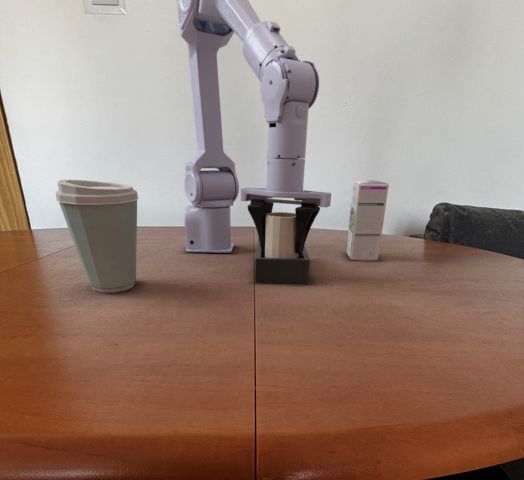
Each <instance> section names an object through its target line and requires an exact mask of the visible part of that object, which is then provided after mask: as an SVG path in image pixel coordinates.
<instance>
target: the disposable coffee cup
mask: <svg viewBox="0 0 524 480" xmlns="http://www.w3.org/2000/svg"><path fill="white" fill-rule="evenodd" d="M57 187H58V190H56V192H55V196H56V199H55V200H56V202H58V203H59V206H60V210H61V211H62V214H63V217H64V219H65V222H66V225H67V228H68V231H69V233H70V236H71V238H72V239H71V240H72V242H73V244H74V247H75V250H76V252H77V255H78V257H79V260H80V263H81V266H82V269H83V271H84V275H85V277H86V279H87V282H88V284H89V285H90V287H91V288H92V290H94V292H98V293H102V294H106V293H107V294H111V293H114V294H115V293H120V292H121V293H122V292H125V291H128V290H130V289H133V288H134V286H135V284H136V283H135V282H136V280H137V250H138V249H137V245H138V244H137V241H138V239H137V237H138V199H139V197H138V191H137V190H136V189H134V188H133V186H132V185H129V184H124V183H117V182H108V181H100V180H99V181H98V180H85V179H84V180H83V179H61V180H58V181H57Z"/></svg>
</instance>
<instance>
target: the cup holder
mask: <svg viewBox="0 0 524 480" xmlns="http://www.w3.org/2000/svg"><path fill="white" fill-rule="evenodd" d="M254 263H255V265H254V267H255V268H254V269H255V271H254V272H255V273H254V275H255V276H254V280H255V281H254V284H281V285H282V284H283V285H308V284H309V276H310V264H311V259H310V257H309V254H308V251H307V249H306V246H305V245H304V250H303V252H301V253H299V255H298V258H265V249H261V246H260V241H259V237H258V238H257V246H256V252H255V262H254Z"/></svg>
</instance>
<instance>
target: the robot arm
mask: <svg viewBox="0 0 524 480" xmlns="http://www.w3.org/2000/svg"><path fill="white" fill-rule="evenodd" d="M176 6H177V16H178V25H179V33H180V37H181V38H182V39H183V40H184V41H185V42H186V46H187V57H188V69H189V78H190V89H191V100H192V111H193V122H194V132H195V141H196V151H197V152H195V154H194V155H192V156H191V158H190V159H189V160H188V161H187V162H186V163H185V165H184V170H185V171H184V173H185V174H184V175H185V176H184V192H185V195H186V198H187V200H188V201H189V202H190V204H191V205H186V206H185V208H184V215H183V216H184V220H183V221H184V232H185V233H184V234H185V247H186V249H185V252H186V253H208V254H210V253H213V254H221V253H222V254H231V253H232V251H233V249H234V247H235V242H232V231H231V230H232V229H231V228H232V226H231V222H232V221H231V207H233V206H234V202H235V201H236V200H237V198H238V196H239V193H240V202H250V203H249V204H247V211H248V213H249V214H250V217H251V219H252V221H253V223H254V226H255V229H256V233H257V236H258V238H259V241H260V246H261V249H265V232H266V214H267V213H273V208H274V204H285V205H286V204H287V205H296V207H295V208H294V211H295V212H294V213H296V229H297V232H296V243H295V253H301V252H303V250H304V246H305V245H306V241H307V238H308V235H309V232H310V230H311V228H312V226H313V224H314V222H315V220H316V218H317V216H318V215H319V213H320V211H321V208H329V207H331V203H332V192H328V191H327V192H326V191H315V190H305V189H304V183H305V167H306V154H307V153H306V151H307V137H308V134H307V133H308V121H309V110H310V109H311V107H313V105H314V104H315V102H316V100H317V98H318V94H319V89H320V76H319V72H318V69H317V67H316V65H315V63H314V62H312V61H310V60H301V59H299V57H298V56H297V55H296V49H295V47H294V46H292V45H289V44H288V43H287V41H286V40H285V39H284V37H283V35H282V34H281V33H280V31H281V27H280V25H279V24H278V23H277V22H276V21H275V22H274V21H270V20H269V21H267V20H262V21H261V19H260V18H259V16H258V14H257V13H256V11H255V9H254V8H253V6H252V4H251V2H250V1H249V0H176ZM234 34H235V35H236V36H237V38H238V39H239V40H240V41H241V42H242V55H243V59H244V60H245V61H246V63H247V64H248V66H249V68H250V69H251V70H252V72H253V73H254V75H255V76H256V78H257V79H258V81H259V82H260V84H259V92H260V93H259V94H260V98H261V101H262V103H263V109H264V118H265V122H266V123H267V151H266V152H267V153H266V156H267V158H266V187H241V188H240V182H239V178H238V175H237V171H236V163H235V162H234V161H233V160H232V159H231V158H230V157H229V156H228V154H226V152H225V151H224V139H223V137H224V136H223V126H222V110H221V109H222V108H221V95H220V84H219V83H220V82H219V68H218V67H219V66H218V52H219V49H221V48H224V47H226V46H227V45H228V44H229V42H230V40H231V38H232V37H233V35H234ZM202 169H214V170H202ZM216 169H217V170H216ZM297 205H299V206H297Z"/></svg>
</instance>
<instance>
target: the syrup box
mask: <svg viewBox="0 0 524 480" xmlns="http://www.w3.org/2000/svg"><path fill="white" fill-rule="evenodd" d="M389 186H390V183H389V182H385V181H381V180H373V179H372V180H371V179H364V180H363V179H362V180H354V181H353V185H352V195H351V203H350V211H349V223H348V230H347V239H346V249H345V254H346V256H347V257H348V258H349V260H351V261H361V262H363V261H364V262H367V261H369V262H374V261H375V262H377V261H378V260H379V255H380V249H381V248H380V247H381V242H382V236H383V228H384V221H385V216H386V215H385V214H386V209H387V208H386V207H387V198H388V193H389Z"/></svg>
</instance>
